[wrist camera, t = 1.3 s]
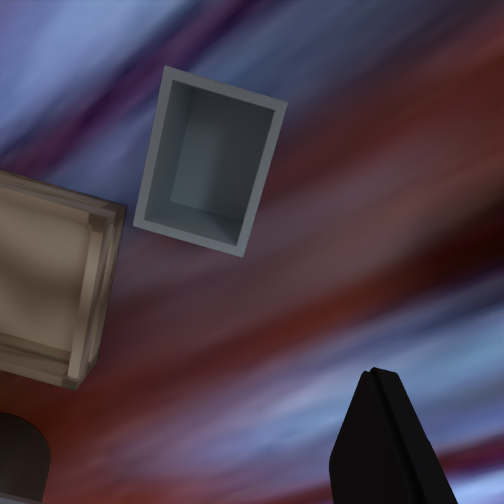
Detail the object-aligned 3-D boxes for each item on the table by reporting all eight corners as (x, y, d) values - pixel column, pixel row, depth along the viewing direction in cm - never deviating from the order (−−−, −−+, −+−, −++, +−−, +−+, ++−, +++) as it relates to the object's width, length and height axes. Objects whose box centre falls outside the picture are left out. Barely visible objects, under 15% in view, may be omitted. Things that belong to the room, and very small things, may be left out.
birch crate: (-71, 148, 27) (-120, 152, 24) (126, 206, 28) (106, 217, 24) (-78, 313, 31) (-121, 336, 28) (97, 362, 32) (75, 390, 28)
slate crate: (190, 78, 25) (164, 65, 19) (286, 106, 25) (288, 102, 20) (162, 204, 28) (132, 226, 22) (250, 229, 28) (243, 257, 22)
